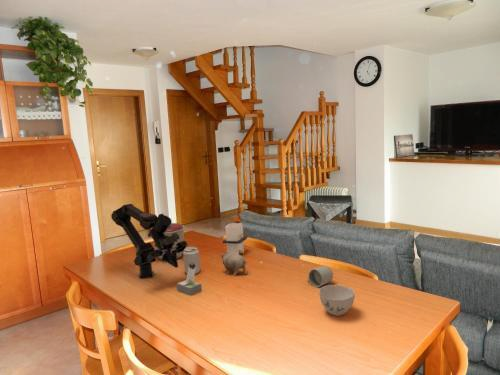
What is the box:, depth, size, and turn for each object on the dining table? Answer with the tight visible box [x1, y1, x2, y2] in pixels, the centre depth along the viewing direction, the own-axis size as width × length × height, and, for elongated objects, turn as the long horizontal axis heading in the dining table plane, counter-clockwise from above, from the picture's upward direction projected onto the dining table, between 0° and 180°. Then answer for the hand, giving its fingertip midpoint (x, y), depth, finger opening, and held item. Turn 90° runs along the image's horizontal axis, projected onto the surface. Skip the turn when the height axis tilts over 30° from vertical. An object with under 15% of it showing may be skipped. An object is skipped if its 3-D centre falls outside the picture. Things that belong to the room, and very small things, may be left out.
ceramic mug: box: [307, 265, 334, 288], centre depth 166 cm, size 11×8×8 cm
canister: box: [153, 222, 185, 260], centre depth 211 cm, size 18×18×21 cm
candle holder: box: [222, 222, 248, 255], centre depth 211 cm, size 25×24×16 cm
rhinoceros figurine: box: [220, 251, 248, 277], centre depth 184 cm, size 8×14×15 cm
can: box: [182, 246, 201, 275], centre depth 187 cm, size 8×8×12 cm
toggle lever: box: [185, 263, 196, 284], centre depth 163 cm, size 3×3×10 cm
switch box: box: [176, 279, 203, 296], centre depth 166 cm, size 9×6×3 cm, turn 49°
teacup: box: [318, 284, 356, 317], centre depth 140 cm, size 15×12×8 cm
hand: (177, 267), depth 169 cm, fingers closed
